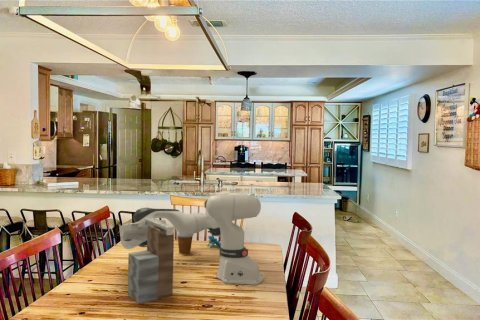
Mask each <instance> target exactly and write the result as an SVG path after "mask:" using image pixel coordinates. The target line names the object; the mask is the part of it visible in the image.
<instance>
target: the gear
mask: <svg viewBox="0 0 480 320" xmlns="http://www.w3.org/2000/svg"><path fill="white" fill-rule="evenodd" d="M207 237H208V244H207V245H206V246H207V247H209V248H210V249H212V248H213V246H217V247H219V248H220V246H221V240H220V241H219V240H218V238H216V237H215V236H214V235H208V236H207Z"/></svg>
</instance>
